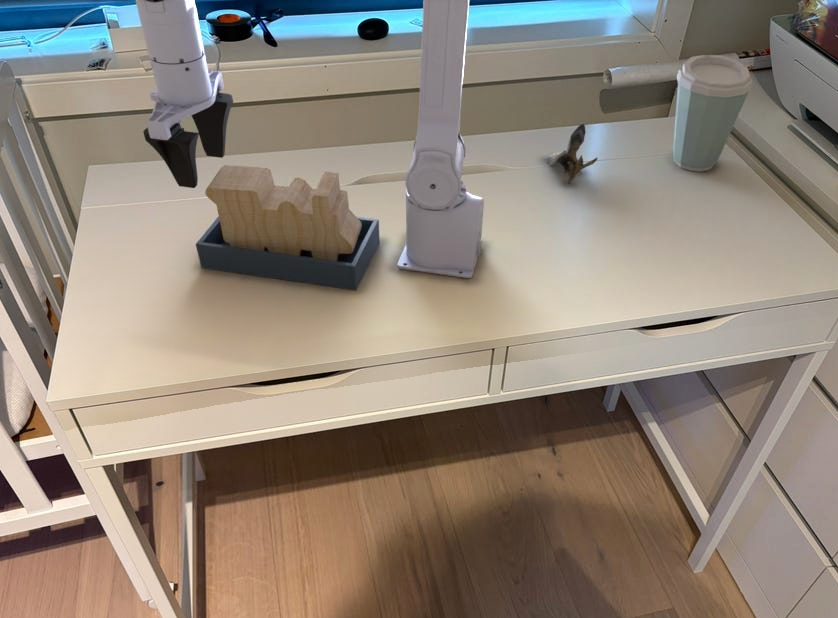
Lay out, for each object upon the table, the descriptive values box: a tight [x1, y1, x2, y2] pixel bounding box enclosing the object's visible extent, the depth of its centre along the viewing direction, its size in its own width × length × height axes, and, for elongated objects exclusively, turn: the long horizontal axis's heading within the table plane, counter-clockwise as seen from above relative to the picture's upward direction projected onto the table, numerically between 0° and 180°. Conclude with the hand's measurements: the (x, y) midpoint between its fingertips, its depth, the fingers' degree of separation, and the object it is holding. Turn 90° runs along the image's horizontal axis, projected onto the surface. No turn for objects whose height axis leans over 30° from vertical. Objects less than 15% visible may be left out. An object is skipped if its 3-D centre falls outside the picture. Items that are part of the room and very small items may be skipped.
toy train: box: [204, 164, 362, 261], centre depth 88 cm, size 6×17×10 cm, turn 84°
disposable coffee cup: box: [672, 54, 753, 172], centre depth 109 cm, size 11×11×15 cm
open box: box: [195, 215, 380, 291], centre depth 91 cm, size 20×11×4 cm, turn 79°
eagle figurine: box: [544, 123, 599, 185], centre depth 109 cm, size 8×7×9 cm
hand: (202, 170), depth 87 cm, fingers open, 7 cm apart
